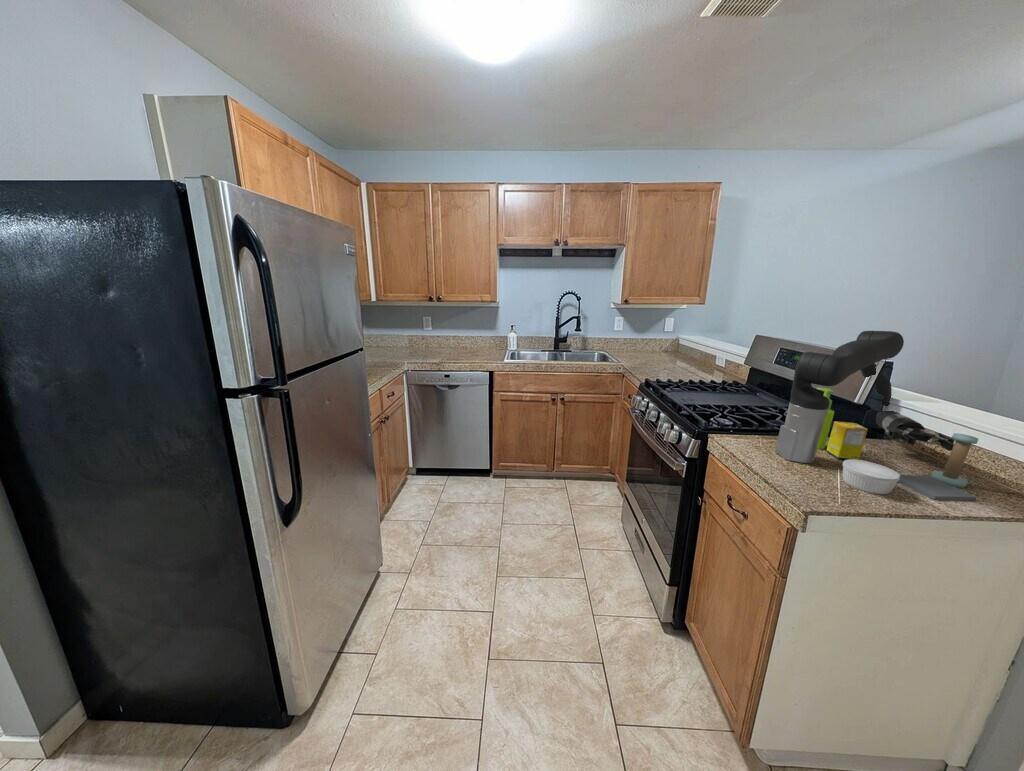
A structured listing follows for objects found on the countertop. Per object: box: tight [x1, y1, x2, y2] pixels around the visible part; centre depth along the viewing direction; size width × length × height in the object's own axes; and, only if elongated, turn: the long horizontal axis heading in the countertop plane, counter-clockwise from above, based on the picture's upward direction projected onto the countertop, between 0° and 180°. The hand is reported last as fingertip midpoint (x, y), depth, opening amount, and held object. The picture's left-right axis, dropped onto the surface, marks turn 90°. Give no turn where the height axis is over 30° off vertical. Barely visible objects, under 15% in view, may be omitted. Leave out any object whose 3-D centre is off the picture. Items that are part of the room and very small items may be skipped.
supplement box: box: [825, 420, 868, 461], centre depth 114 cm, size 6×6×11 cm
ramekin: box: [842, 459, 901, 495], centre depth 97 cm, size 11×11×5 cm
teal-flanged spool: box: [930, 432, 979, 489], centre depth 100 cm, size 6×6×14 cm
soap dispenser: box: [816, 387, 835, 450], centre depth 122 cm, size 6×7×20 cm
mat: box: [897, 474, 977, 501], centre depth 97 cm, size 11×11×1 cm
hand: (932, 444), depth 109 cm, fingers open, 8 cm apart
